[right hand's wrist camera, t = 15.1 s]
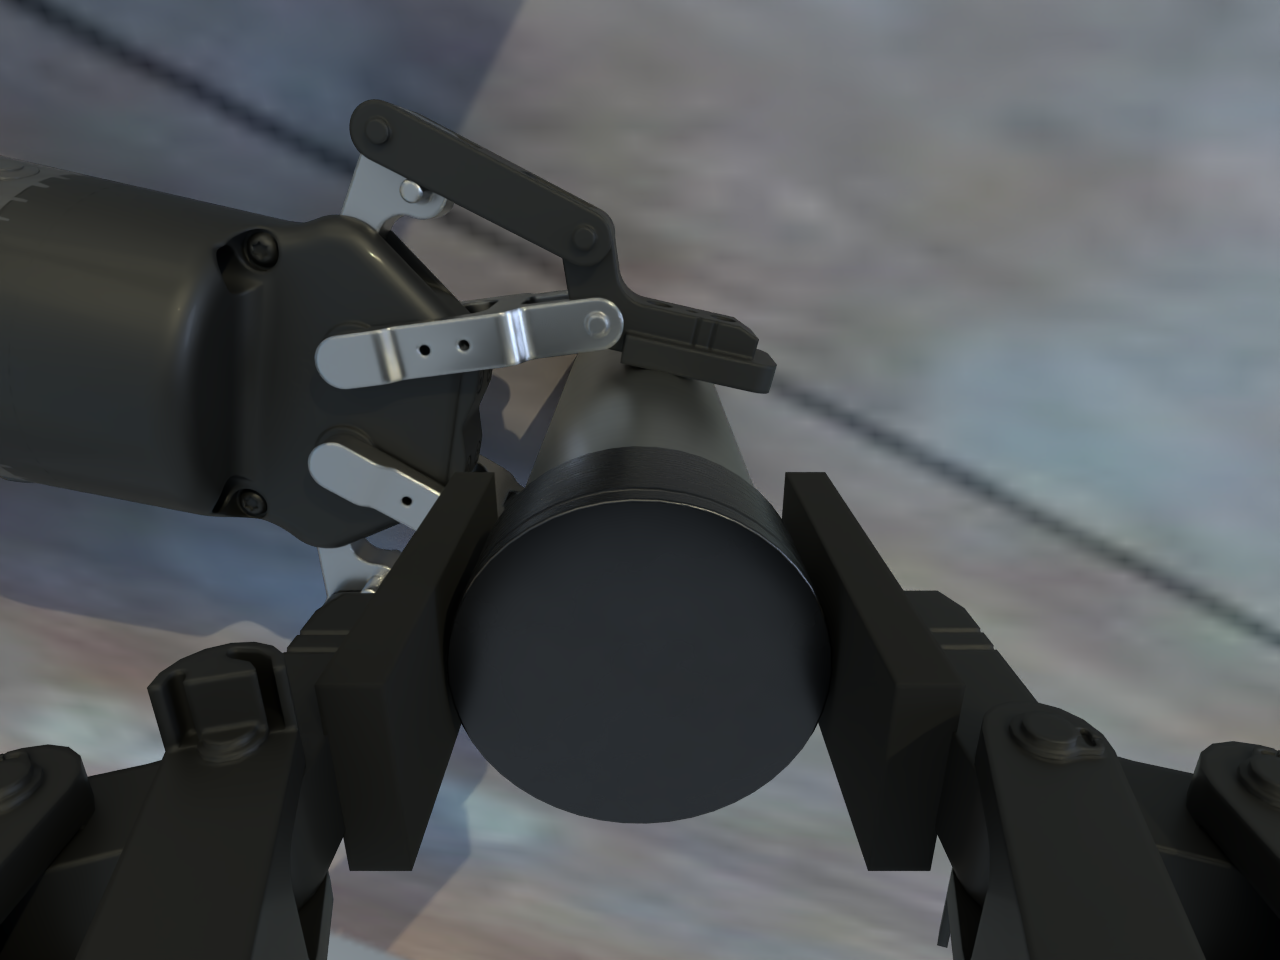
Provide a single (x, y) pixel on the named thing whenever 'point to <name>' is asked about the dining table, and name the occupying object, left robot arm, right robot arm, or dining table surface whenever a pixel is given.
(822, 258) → the dining table surface
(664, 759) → the lid
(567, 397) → the jar
